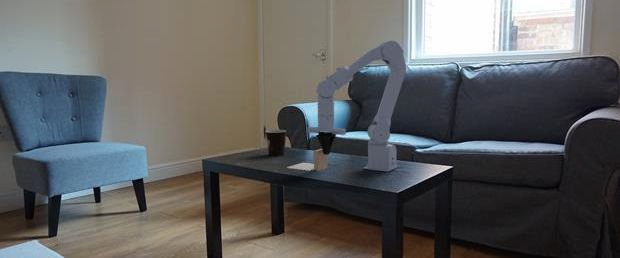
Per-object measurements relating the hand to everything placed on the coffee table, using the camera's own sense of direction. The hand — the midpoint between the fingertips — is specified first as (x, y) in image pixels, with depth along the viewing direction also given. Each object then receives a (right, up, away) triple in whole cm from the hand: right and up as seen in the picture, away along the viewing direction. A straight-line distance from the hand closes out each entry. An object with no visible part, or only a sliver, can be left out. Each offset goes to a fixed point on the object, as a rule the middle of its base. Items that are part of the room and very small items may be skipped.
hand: (326, 154), depth 159 cm
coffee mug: (-20, -2, +30) cm, 36 cm away
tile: (-2, -5, +2) cm, 6 cm away
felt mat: (-7, -5, +6) cm, 11 cm away
